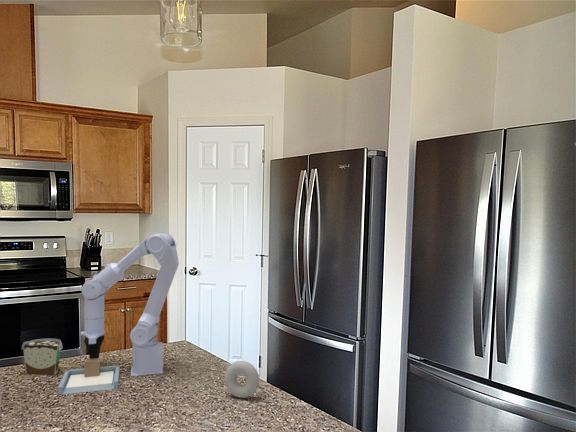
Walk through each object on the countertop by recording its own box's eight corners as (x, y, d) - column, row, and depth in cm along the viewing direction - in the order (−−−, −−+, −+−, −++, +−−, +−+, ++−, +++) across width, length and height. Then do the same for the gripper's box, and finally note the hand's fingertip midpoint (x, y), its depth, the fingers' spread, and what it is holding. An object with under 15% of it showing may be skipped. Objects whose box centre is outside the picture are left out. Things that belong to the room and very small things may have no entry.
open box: (119, 373, 142) (119, 365, 142) (117, 390, 129) (117, 381, 129) (65, 378, 137) (65, 370, 137) (58, 396, 124) (58, 387, 124)
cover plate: (113, 373, 140) (113, 356, 140) (112, 385, 130) (112, 367, 130) (71, 377, 136) (71, 360, 136) (66, 390, 127) (66, 371, 127)
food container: (71, 370, 144) (71, 338, 144) (59, 377, 138) (59, 344, 138) (34, 368, 145) (34, 337, 145) (21, 375, 139) (21, 342, 139)
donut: (261, 397, 125) (261, 360, 125) (256, 402, 122) (257, 364, 121) (227, 392, 128) (227, 357, 127) (222, 397, 124) (222, 361, 124)
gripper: (83, 313, 149) (83, 354, 149) (77, 323, 135) (77, 369, 135) (106, 311, 151) (106, 352, 151) (103, 322, 137) (103, 367, 137)
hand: (94, 360), depth 143 cm, fingers closed
